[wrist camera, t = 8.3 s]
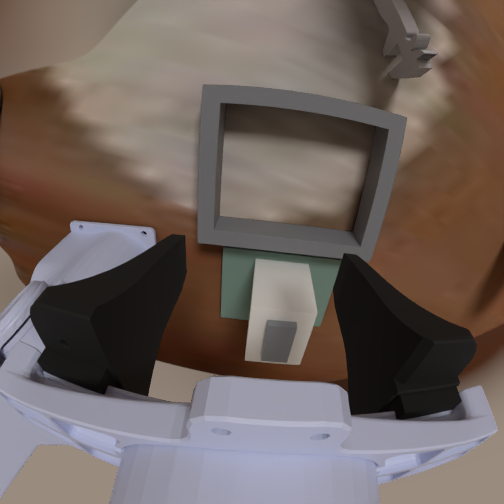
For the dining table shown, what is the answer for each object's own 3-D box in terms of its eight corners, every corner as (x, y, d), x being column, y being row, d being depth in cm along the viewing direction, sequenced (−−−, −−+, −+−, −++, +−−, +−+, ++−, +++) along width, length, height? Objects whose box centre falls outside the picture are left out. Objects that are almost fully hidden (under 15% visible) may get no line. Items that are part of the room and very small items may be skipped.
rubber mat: (221, 312, 28) (220, 317, 27) (224, 243, 24) (223, 247, 23) (319, 322, 28) (319, 326, 27) (339, 256, 24) (341, 260, 23)
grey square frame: (204, 228, 23) (197, 242, 21) (211, 86, 17) (202, 84, 15) (361, 246, 23) (369, 261, 21) (392, 114, 17) (407, 117, 15)
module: (249, 310, 27) (244, 366, 21) (255, 258, 23) (250, 313, 18) (295, 315, 27) (299, 370, 21) (308, 263, 23) (318, 319, 18)
